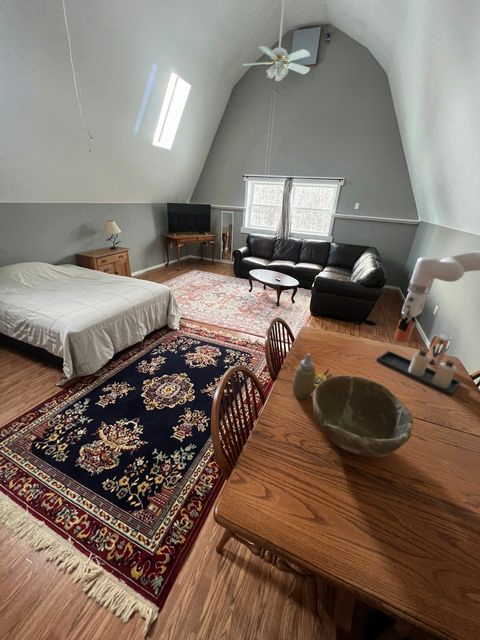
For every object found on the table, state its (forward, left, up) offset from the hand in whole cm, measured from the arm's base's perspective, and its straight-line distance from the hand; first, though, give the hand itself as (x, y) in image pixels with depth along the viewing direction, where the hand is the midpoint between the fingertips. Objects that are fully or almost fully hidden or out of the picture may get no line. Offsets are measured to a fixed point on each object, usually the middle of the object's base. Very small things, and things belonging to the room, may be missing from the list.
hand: (405, 327), depth 116 cm
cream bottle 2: (-19, 0, -18) cm, 26 cm away
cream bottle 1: (-10, 0, -18) cm, 21 cm away
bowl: (-12, +56, -19) cm, 60 cm away
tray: (-10, 0, -19) cm, 21 cm away
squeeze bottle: (+11, +52, -19) cm, 56 cm away
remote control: (+12, +38, -19) cm, 44 cm away
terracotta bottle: (0, 0, -6) cm, 6 cm away
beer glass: (-12, -14, -19) cm, 26 cm away
